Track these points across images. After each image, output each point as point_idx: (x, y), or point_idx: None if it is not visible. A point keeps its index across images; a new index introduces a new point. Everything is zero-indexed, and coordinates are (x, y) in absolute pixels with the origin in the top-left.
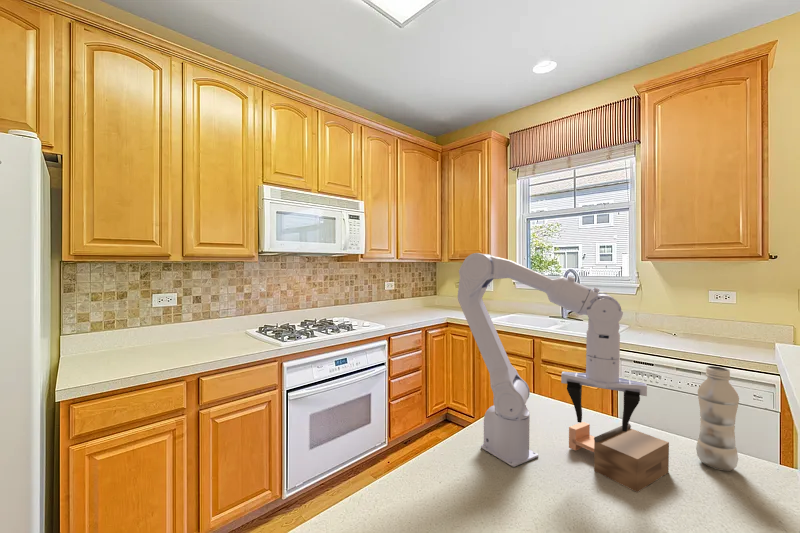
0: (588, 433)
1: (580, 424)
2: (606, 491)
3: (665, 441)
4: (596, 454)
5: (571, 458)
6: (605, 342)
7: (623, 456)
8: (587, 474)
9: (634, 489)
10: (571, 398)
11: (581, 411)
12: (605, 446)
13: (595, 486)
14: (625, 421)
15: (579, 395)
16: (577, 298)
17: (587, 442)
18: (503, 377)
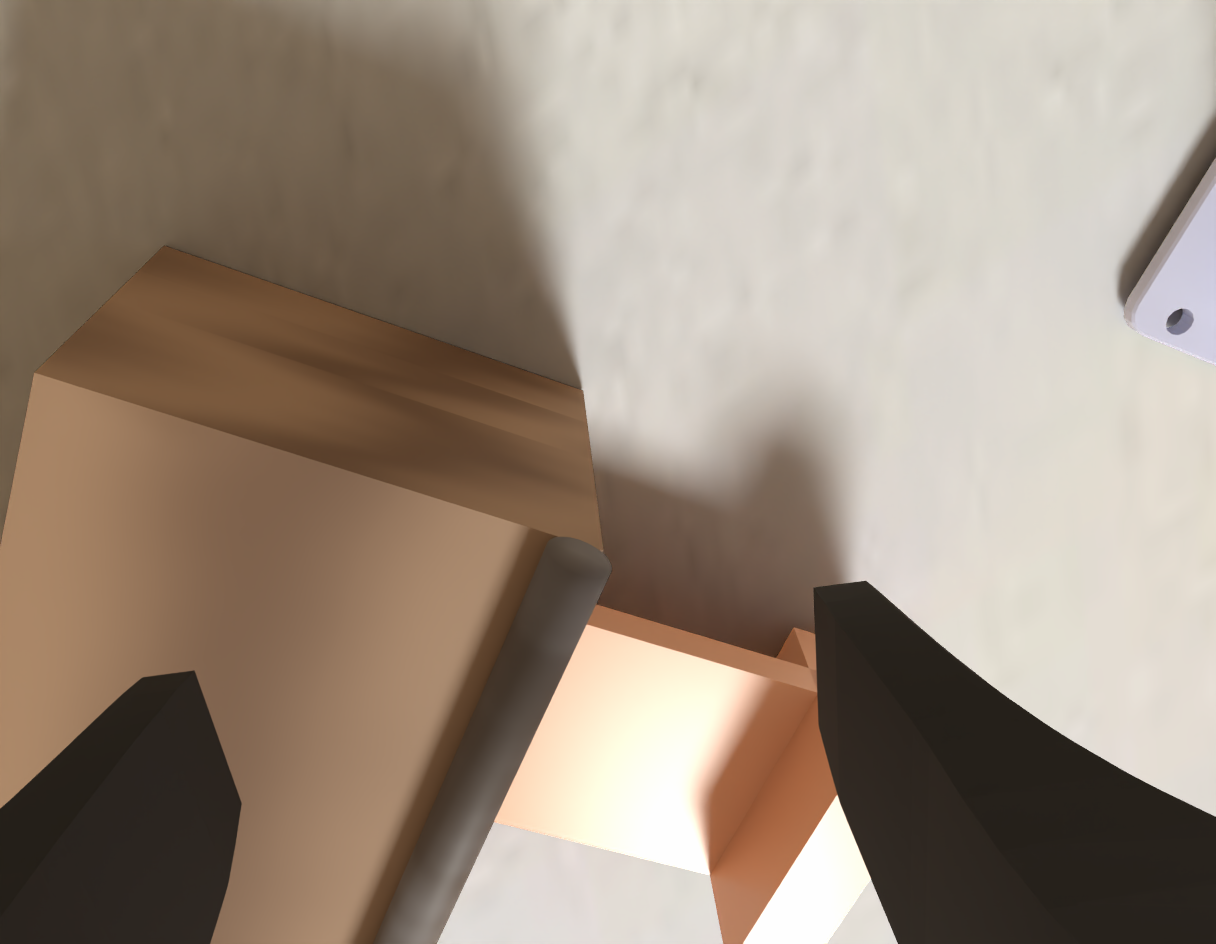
0: (721, 875)
1: (815, 914)
2: (406, 67)
3: None
4: (568, 465)
5: (809, 492)
6: None
7: (232, 413)
8: (627, 285)
9: (186, 260)
10: (1211, 816)
11: (862, 787)
12: (459, 497)
13: (517, 96)
14: (72, 773)
15: (1074, 916)
16: None
17: (704, 722)
18: None
